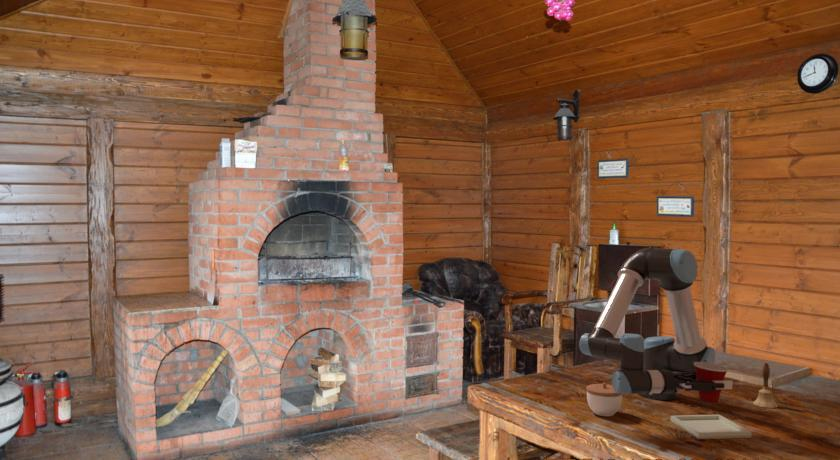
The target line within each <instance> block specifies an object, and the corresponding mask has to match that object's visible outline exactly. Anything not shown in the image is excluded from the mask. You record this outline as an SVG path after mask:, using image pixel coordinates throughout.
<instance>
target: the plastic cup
mask: <svg viewBox="0 0 840 460" xmlns="http://www.w3.org/2000/svg"><path fill="white" fill-rule="evenodd" d="M694 367H695V371H696V377H697V379H696V380H700V381H711V382H712V381H722V380H725V377H726V375H727V372H728V371H729V368H728V367H726V366H723V365H720V364H717V363H714V364H712V363H706V362H694ZM721 393H722V389H716V391H715V392H712V391H698V397H699V400H700V401H702V402H705V403H711V404H713V403H715V404H716V403H718V402H719V400H720V398H721Z"/></svg>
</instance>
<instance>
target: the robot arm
mask: <svg viewBox="0 0 840 460" xmlns="http://www.w3.org/2000/svg"><path fill="white" fill-rule="evenodd" d="M697 262H698V261H697V259H696V256H695V255H694V253H693V252H691V251H689V250H687V249H682V248H681V249H680V248H661V247H660V248H659V247H646V248H645V247H644V248H642V249H639V250H637V251H636V252H634V253H632V254H631V255H630V256H629V257H627V258H626V259H625V261H624V262H623V263H622V265H621V266H620V268H619V270H618V272H617V277H618V278H617V280H616V282H615V284H614V286H613V289H612V291H611V293H610V295H609V296H608V298H607V301H606V303H605V305H604V307H603V309H602V311H601V313H600V315H599V317H598V319H597V321H596V323H595V325H594V327H593V329H592V331H591V333H590V332H589V333H587V332H585V333H583V334H582V335H581V336H580V339H579V343H578V346H579V350H580V352H581V353H582V354H583V355H586V356H590V357H592V358H594V357H596V358H602V359H607V360H612V361H616V362H619V369H618V370H614V371H613V372H612V376H611V385H612V386H613V389H614V390H615V391H616V392H617V393H621V394H622V395H623V394H625V395H637V394H638V395H639V396H641V397H644V398H648V399H652V400H657V401H658V400H660V401H670V400H677V398H679V390H684V391H686V392H688V391H698V392H699V391H712V392H715V391H716V389H721V390H733V380H728V379H727V380H725V379H724V380H722V381H712V382H711V381H700V380H697V377H696V371H695V367H694V362H706V363H712V364H715V361H716V351H715V348H714V347H711V346H708V344H707V341H706V339H705V338H704V337H703V336H701V332H700V328H699V322H698V318H697V314H696V309H695V303H694V299H693V295H692V294H693V293H692V290H691V289H692V288H691V287H692V286H693V284H694V282H695V281H696V279H697V277H698V269H699V268H698V263H697ZM647 280H653V281H654V280H655V281H658V284H659V288H660V289H662V290H663V291H665V296H666V299H667V304H668V309H669V313H670V317H671V322H672V326H673V330H674V331H673V332H674V335H675V337H673V336H668V335H667V336H666V335H664V336H663V335H662V336H661V335H659V336H649V337H646V338H644V337H643V336H642V335H641V334H638V333H622V334H621V335H620V338H619V337H616V334H617V333H618V331H619V329H620V327H621V324H622V322H623V320H624V318H625V316H626V314H627V312H628V310H629V307H630V305H631V303H632V301H633V299H634V297H635V295H636V292H637V290H638V288H639V287H642V286H643V285H644V283H645V281H647ZM675 338H676V339H675Z"/></svg>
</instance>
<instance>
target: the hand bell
mask: <svg viewBox="0 0 840 460" xmlns="http://www.w3.org/2000/svg"><path fill="white" fill-rule="evenodd" d="M770 369H771V368H770V365H769V363H767V362H764V364H763V366H762V370H761V373H762V374H761V375H762V378H763V379H762V380H763V384H762V385H763V386H762V388H761V389H759V390H758V395H757V398H756V399H755V400H754V401H753V402H752V404H753V405H754V406H756V407H758V408H759V407H760V408H765V409H776V408H778V407H779V406H778V404H777V403H776V401H775V399H774V396H773V392H772V390H770V389H769V379H770V375H771V370H770Z"/></svg>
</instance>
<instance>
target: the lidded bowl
mask: <svg viewBox="0 0 840 460" xmlns="http://www.w3.org/2000/svg"><path fill="white" fill-rule="evenodd" d="M585 388H586V389H585V390H586V400H587V404H588V407H589V408H590V409H591V410H592V411H593V414H595V415H597V416H601V417H613V416H615V414H616V413H617V412H618V411H619V410H620V408H621V406H622V402H623V394H621V393H617V392H616V391H615V390H614V389H613V386H612V384H610V383H609V384H607V382H602V383H592V384H589V385H587V386H586V387H585Z"/></svg>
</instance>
